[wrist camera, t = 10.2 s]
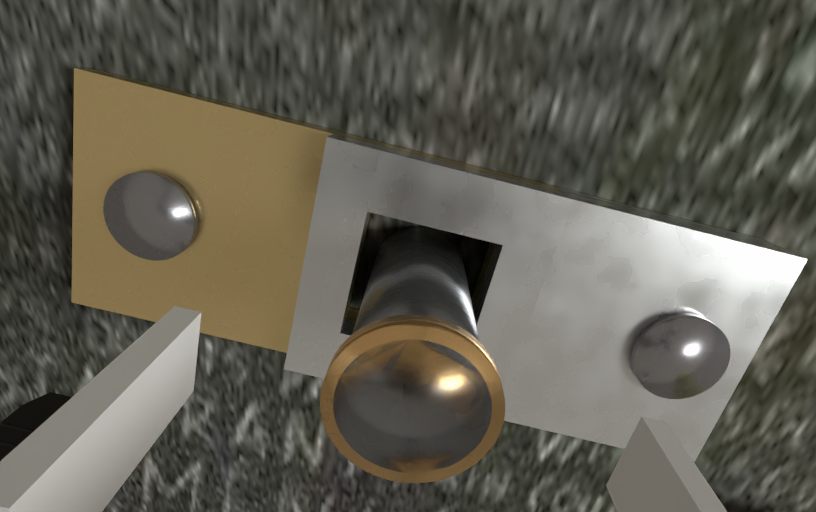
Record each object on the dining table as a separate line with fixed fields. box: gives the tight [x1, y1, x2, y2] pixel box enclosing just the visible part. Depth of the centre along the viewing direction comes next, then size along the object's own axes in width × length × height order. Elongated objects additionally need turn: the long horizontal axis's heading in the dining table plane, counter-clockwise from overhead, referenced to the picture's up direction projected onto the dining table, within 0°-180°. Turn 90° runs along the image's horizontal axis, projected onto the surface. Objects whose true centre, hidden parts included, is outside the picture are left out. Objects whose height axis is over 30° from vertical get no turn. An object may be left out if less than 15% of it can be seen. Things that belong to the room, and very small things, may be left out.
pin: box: [320, 226, 505, 483], centre depth 20 cm, size 6×6×12 cm
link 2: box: [284, 134, 808, 462], centre depth 24 cm, size 12×22×4 cm, turn 76°
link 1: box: [72, 68, 565, 353], centre depth 25 cm, size 12×23×2 cm, turn 76°
